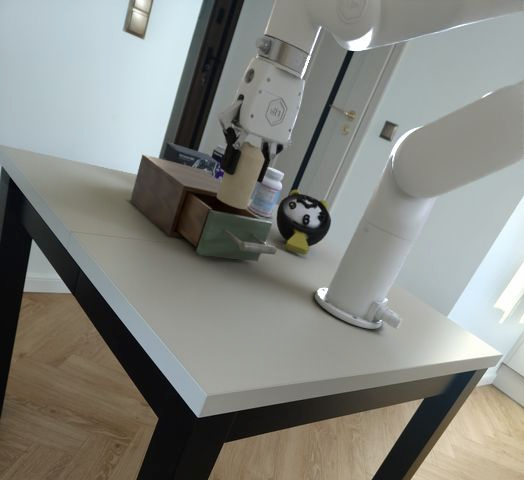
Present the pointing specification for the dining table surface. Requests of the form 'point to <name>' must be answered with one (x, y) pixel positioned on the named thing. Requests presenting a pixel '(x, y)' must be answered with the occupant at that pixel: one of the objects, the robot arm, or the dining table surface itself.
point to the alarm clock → (302, 221)
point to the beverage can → (219, 160)
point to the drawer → (223, 228)
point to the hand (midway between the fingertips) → (241, 174)
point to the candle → (242, 177)
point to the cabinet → (168, 190)
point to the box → (190, 158)
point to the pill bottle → (267, 193)
